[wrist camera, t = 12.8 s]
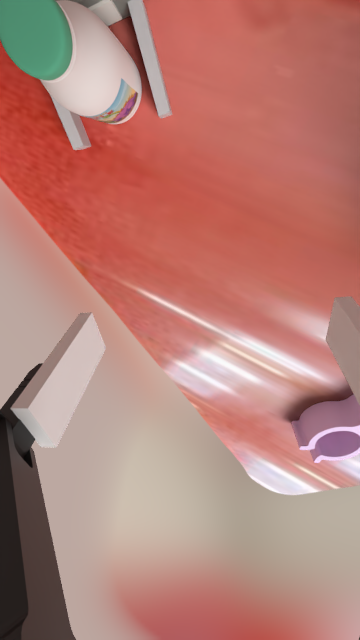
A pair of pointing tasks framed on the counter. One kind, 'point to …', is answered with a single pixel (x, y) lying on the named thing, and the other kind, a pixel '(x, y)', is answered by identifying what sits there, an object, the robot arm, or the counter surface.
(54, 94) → the milk bottle
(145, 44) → the stacked grey blocks
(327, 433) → the clip
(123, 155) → the counter surface
